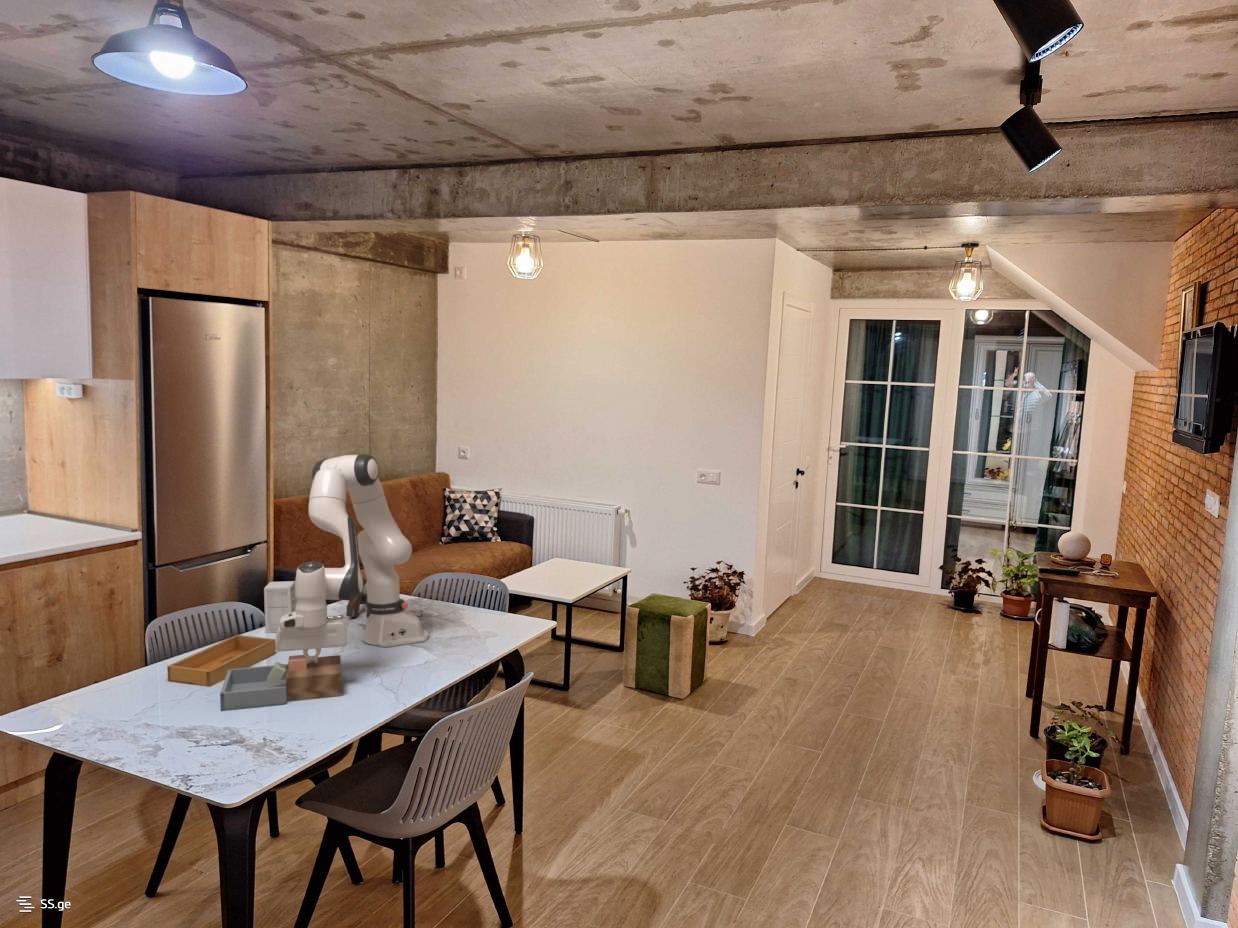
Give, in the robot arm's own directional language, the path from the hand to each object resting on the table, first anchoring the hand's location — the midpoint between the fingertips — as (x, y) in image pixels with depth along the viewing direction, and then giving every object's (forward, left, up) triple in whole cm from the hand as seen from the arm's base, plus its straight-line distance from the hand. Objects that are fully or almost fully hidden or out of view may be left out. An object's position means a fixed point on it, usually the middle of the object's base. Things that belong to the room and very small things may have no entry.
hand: (312, 662), depth 248 cm
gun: (-18, -82, -9) cm, 85 cm away
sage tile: (+9, 0, -3) cm, 9 cm away
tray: (+27, -27, -9) cm, 39 cm away
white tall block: (+12, -64, -9) cm, 66 cm away
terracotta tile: (+4, 0, -1) cm, 4 cm away
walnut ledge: (-1, 0, -8) cm, 8 cm away
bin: (+15, 0, -8) cm, 17 cm away
